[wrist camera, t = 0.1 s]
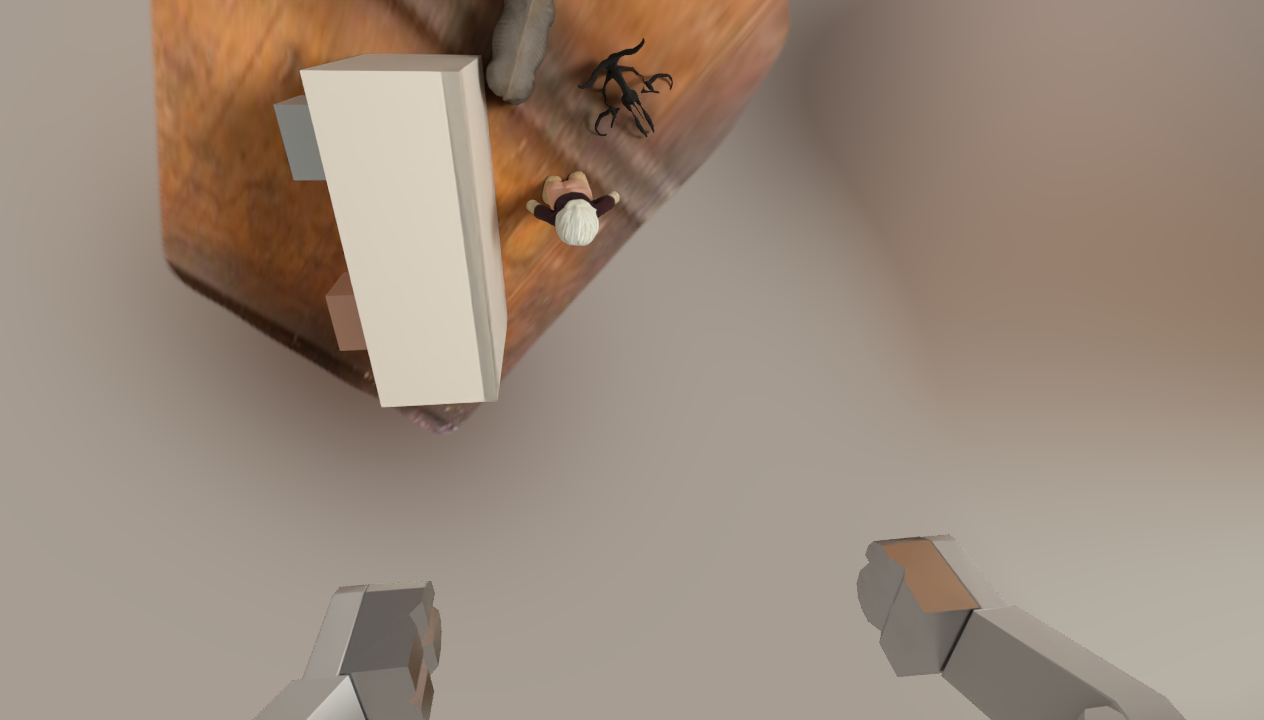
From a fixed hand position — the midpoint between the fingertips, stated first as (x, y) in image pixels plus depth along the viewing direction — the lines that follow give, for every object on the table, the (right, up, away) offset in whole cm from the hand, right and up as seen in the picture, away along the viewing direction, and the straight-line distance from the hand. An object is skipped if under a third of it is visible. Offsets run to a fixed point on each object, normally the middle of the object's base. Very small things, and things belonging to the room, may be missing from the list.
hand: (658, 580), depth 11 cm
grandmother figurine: (-6, +20, +44) cm, 48 cm away
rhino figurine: (-9, +32, +36) cm, 49 cm away
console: (-17, +19, +43) cm, 50 cm away
